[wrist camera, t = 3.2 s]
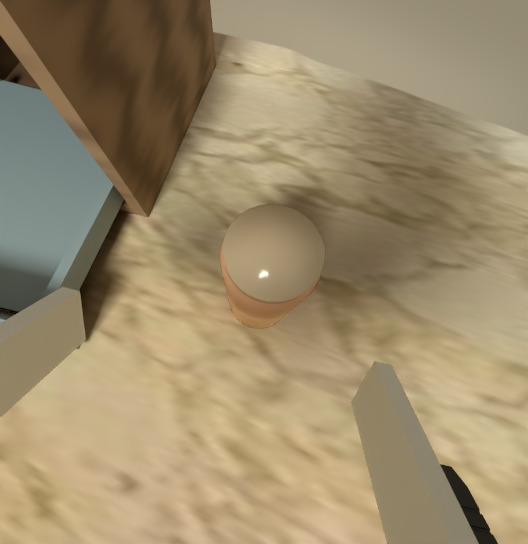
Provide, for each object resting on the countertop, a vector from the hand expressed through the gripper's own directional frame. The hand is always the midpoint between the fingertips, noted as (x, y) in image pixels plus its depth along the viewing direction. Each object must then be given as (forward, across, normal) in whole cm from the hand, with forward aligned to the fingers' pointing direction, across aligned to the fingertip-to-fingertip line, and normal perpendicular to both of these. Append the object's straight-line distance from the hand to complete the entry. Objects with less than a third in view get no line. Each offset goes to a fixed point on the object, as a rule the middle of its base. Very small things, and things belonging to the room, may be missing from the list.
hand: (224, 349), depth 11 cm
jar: (+10, +1, -3) cm, 11 cm away
